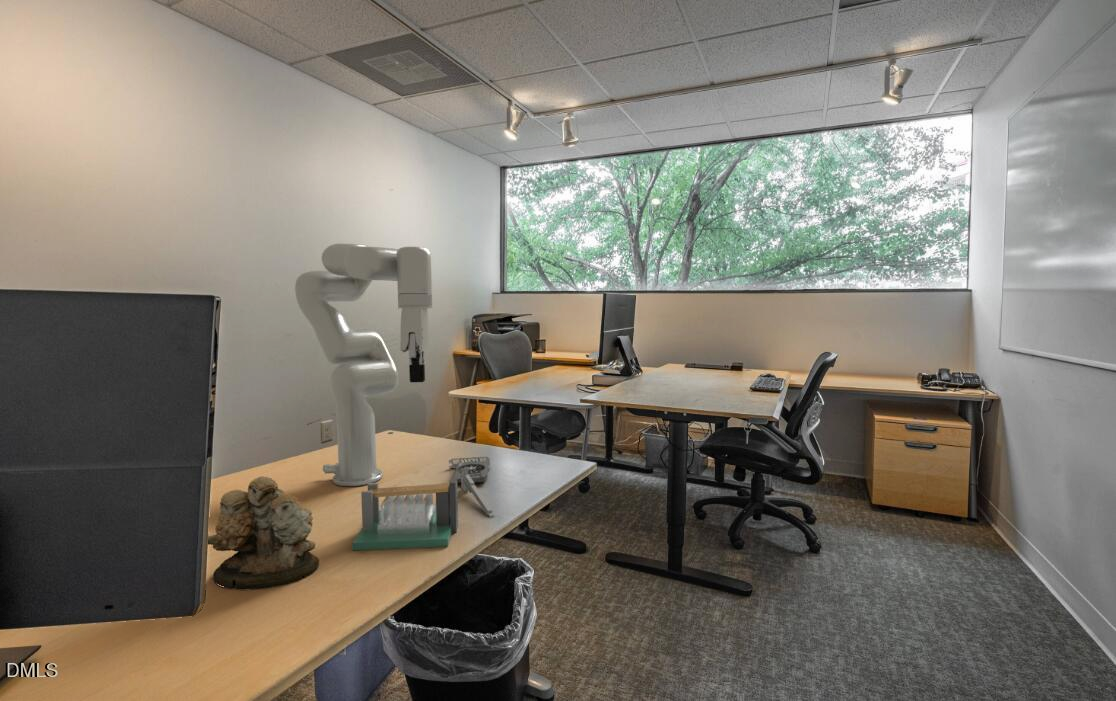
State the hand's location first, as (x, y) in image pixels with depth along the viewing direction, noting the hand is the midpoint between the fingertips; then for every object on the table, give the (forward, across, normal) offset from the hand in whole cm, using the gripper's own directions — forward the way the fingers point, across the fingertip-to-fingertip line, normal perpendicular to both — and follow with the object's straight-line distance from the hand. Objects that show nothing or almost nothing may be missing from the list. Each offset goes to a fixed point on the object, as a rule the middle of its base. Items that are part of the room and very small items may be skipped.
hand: (417, 381), depth 122 cm
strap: (+21, +15, 0) cm, 26 cm away
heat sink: (+28, +15, 0) cm, 31 cm away
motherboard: (+29, +15, 0) cm, 33 cm away
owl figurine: (+29, +30, -22) cm, 47 cm away
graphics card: (+30, -20, +9) cm, 37 cm away
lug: (+29, +15, +8) cm, 34 cm away
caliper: (+30, 0, +13) cm, 32 cm away
